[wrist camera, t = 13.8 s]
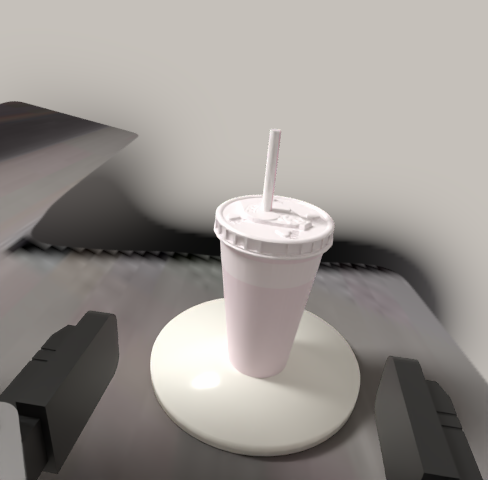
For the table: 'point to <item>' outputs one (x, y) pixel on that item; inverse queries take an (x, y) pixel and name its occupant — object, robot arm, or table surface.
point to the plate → (253, 386)
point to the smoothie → (268, 270)
